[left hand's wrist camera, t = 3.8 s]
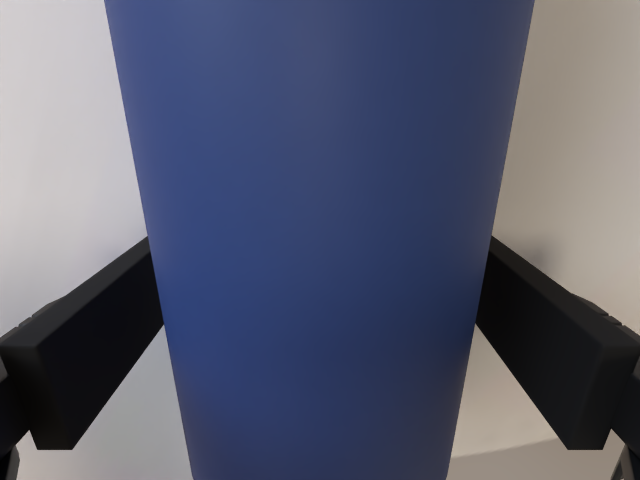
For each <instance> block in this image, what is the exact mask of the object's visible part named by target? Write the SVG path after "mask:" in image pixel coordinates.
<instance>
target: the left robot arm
mask: <svg viewBox="0 0 640 480" xmlns="http://www.w3.org/2000/svg"><path fill="white" fill-rule="evenodd" d="M475 323H476V325H477V326H478V328H479V329H480V330H481V332H482V333H483V334H484V336H485V337H486V338H487V340H488V341H489V343H490V344H491V345H492V347H493V348H494V349H495V351H496V352H497V354H498V355H499V356H500V358H501V359H502V360H503V362H504V363H505V364H506V366H507V367H508V369H509V370H510V371H511V373H512V374H513V375H514V377H515V378H516V380H517V381H518V382H519V384H520V385H521V386H522V388H523V389H524V390H525V392H526V393H527V395H528V396H529V397H530V399H531V400H532V401H533V403H534V404H535V406H536V407H537V408H538V410H539V411H540V412H541V414H542V415H543V417H544V418H545V419H546V421H547V422H548V423H549V425H550V426H551V427H552V429H553V430H554V432H555V433H556V434H557V436H558V437H559V438H560V440H561V441H562V442H563V444H564V445H565V447H566V448H567V449H568V450H603V447H604V445H605V443H606V440H607V437H608V435H609V432H610V430H611V429H612V430H613V431H614V432H615V433H616V434H617V435H618V436H619V437H620V438H621V440H622V441H623V442H624V443H625V446H624V448H623V450H622V453H621V455H620V457H619V460H618V462H617V465H616V467H615V469H614V472H613V474H612V476H611V480H621V479H623V478H624V480H640V336H639V335H638V334H636V333H635V332H634V331H632V330H631V329H629V328H628V327H626V326H622V323H621V322H619V321H618V320H617V319H615V318H614V317H612V316H609V315H608V313H607V312H605V311H604V310H602V309H601V308H600V307H598V306H597V305H595V304H594V303H592V302H590V301H588V300H586V299H583V298H581V297H579V296H577V295H575V294H571V293H570V292H569V291H567V290H566V289H564V288H563V287H562V286H560V285H559V284H558V283H556V282H555V281H553V280H552V279H551V278H549V277H548V276H547V275H545V274H544V273H542V272H541V271H540V270H538V269H537V268H536V267H534V266H533V265H531V264H530V263H529V262H527V261H526V260H525V259H523V258H522V257H520V256H519V255H518V254H516V253H515V252H514V251H512V250H511V249H510V248H508V247H507V246H505V245H504V244H503V243H501V242H500V241H499V240H497V239H496V238H494V237H493V236H492V235H491V240H490V245H489V251H488V256H487V261H486V267H485V272H484V278H483V283H482V289H481V294H480V299H479V305H478V310H477V316H476V321H475ZM163 325H164V320H163V315H162V310H161V304H160V299H159V293H158V288H157V283H156V277H155V272H154V266H153V261H152V256H151V250H150V245H149V239H148V236H147V237H146V238H144V239H143V240H141V241H140V242H139V243H137V244H136V245H135V246H133V247H132V248H130V249H129V250H128V251H126V252H125V253H124V254H122V255H121V256H120V257H118V258H117V259H115V260H114V261H113V262H111V263H110V264H109V265H107V266H106V267H104V268H103V269H102V270H100V271H99V272H98V273H96V274H95V275H93V276H92V277H91V278H89V279H88V280H87V281H85V282H84V283H82V284H81V285H80V286H78V287H77V288H76V289H74V290H73V291H71V292H70V293H69V294H67V295H66V296H64V297H62V298H60V299H58V300H55V301H53V302H51V303H49V304H47V305H46V306H44V307H43V308H41V309H40V310H39V311H37V312H36V313H34V314H33V315H32V317H29V318H27V319H26V320H24V321H23V322H22V323H20V324H19V327H15V328H13V329H12V330H10V331H9V332H8V333H6V334H5V335H3V336H2V337H1V338H0V480H16V478H17V473H18V467H19V462H20V459H19V453H18V450H17V448H16V446H15V445H16V444H17V443H18V442H19V441H20V439H21V438H22V437H23V436H24V435H25V434H26V433H27V432H28V431H29V430H30V432H31V435H32V437H33V440H34V443H35V445H36V448H37V450H72V449H73V448H74V447H75V445H76V444H77V443H78V441H79V440H80V438H81V437H82V436H83V434H84V433H85V432H86V430H87V429H88V427H89V426H90V425H91V423H92V422H93V421H94V419H95V418H96V416H97V415H98V414H99V412H100V411H101V410H102V408H103V407H104V406H105V404H106V403H107V401H108V400H109V399H110V397H111V396H112V395H113V393H114V392H115V390H116V389H117V388H118V386H119V385H120V384H121V382H122V381H123V380H124V378H125V377H126V375H127V374H128V373H129V371H130V370H131V369H132V367H133V366H134V364H135V363H136V362H137V360H138V359H139V358H140V356H141V355H142V354H143V352H144V351H145V349H146V348H147V347H148V345H149V344H150V343H151V341H152V340H153V338H154V337H155V336H156V334H157V333H158V332H159V330H160V329H161V328H162V326H163Z"/></svg>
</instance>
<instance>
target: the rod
mask: <svg viewBox="0 0 640 480" xmlns="http://www.w3.org/2000/svg"><path fill="white" fill-rule="evenodd" d="M534 1H535V0H104V2H105V7H106V13H107V18H108V23H109V29H110V34H111V40H112V45H113V50H114V56H115V61H116V67H117V72H118V77H119V83H120V88H121V94H122V99H123V104H124V110H125V115H126V121H127V126H128V131H129V137H130V142H131V148H132V153H133V158H134V164H135V169H136V175H137V180H138V185H139V191H140V196H141V202H142V207H143V212H144V218H145V223H146V229H147V234H148V239H149V245H150V250H151V256H152V261H153V266H154V272H155V277H156V283H157V288H158V293H159V299H160V304H161V310H162V315H163V320H164V326H165V331H166V337H167V342H168V347H169V353H170V358H171V364H172V369H173V374H174V380H175V385H176V391H177V396H178V401H179V407H180V412H181V418H182V423H183V428H184V434H185V439H186V445H187V450H188V455H189V461H190V466H191V472H192V476H193V479H194V480H446V477H447V473H448V468H449V462H450V457H451V452H452V446H453V441H454V435H455V430H456V424H457V419H458V414H459V408H460V403H461V397H462V392H463V386H464V381H465V376H466V370H467V365H468V359H469V354H470V348H471V343H472V338H473V332H474V327H475V321H476V316H477V310H478V305H479V299H480V294H481V289H482V283H483V278H484V272H485V267H486V261H487V256H488V251H489V245H490V240H491V234H492V229H493V223H494V218H495V213H496V207H497V202H498V196H499V191H500V185H501V180H502V175H503V169H504V164H505V158H506V153H507V147H508V142H509V137H510V131H511V126H512V120H513V115H514V109H515V104H516V99H517V93H518V88H519V82H520V77H521V71H522V66H523V61H524V55H525V50H526V44H527V39H528V33H529V28H530V23H531V17H532V12H533V6H534Z"/></svg>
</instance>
